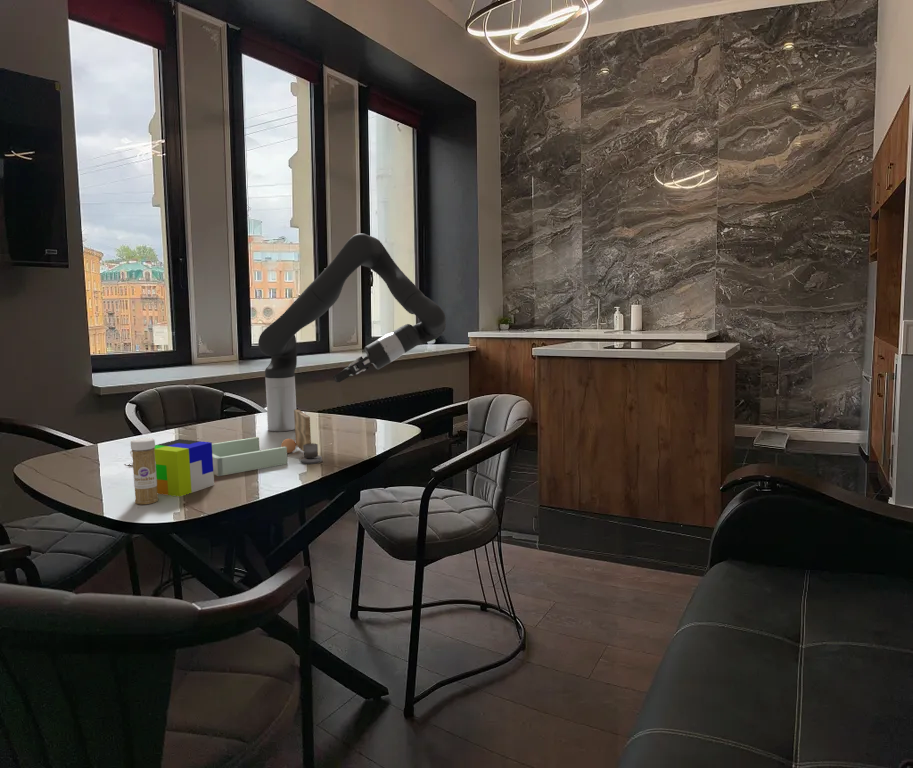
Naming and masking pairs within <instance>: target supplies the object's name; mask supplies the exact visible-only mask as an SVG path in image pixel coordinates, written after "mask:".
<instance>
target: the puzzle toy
mask: <svg viewBox="0 0 913 768" xmlns="http://www.w3.org/2000/svg"><path fill="white" fill-rule="evenodd" d="M212 444H213V443H212V442H209V441H202V440H201V441H200V440H192V439H182V438H181V439H175V440H170V441H166V442H163V443H159V444H155V450H154V451H155V462H156V475H157V493H158V494H157V495H165V496H170V495H171V496H173V497H177V496H179V497H180V496H181V497H183V495H184V496H186V494H187V495H189V493H190V494H192V493H196V492H198V491H201V490H203V489H207V488H209V487H212V486H215V474H214V473H213V456H212ZM179 497H178V498H179Z"/></svg>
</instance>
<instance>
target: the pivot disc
mask: <svg viewBox="0 0 913 768" xmlns="http://www.w3.org/2000/svg"><path fill="white" fill-rule="evenodd" d="M322 462H323V456H322V455H318V456H317V457H314V458H305V457H304V455H303V456H300V458H299V464H302V465H314V464H321V463H322Z"/></svg>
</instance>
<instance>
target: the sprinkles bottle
mask: <svg viewBox="0 0 913 768" xmlns="http://www.w3.org/2000/svg"><path fill="white" fill-rule="evenodd" d="M155 445H156V440H155V439H154V437H140V438H134V439H132V440H130V449H131V450H132V456H133V458H132V460H133V462H132V465H133V466H132V470H133V486H134V499H135V501H134V503H135V504H136V505H142V506H143V505H151V504H155V503H156V502H158V501H159V497H158V495H159V494H157V475H156V462H155V451H154V450H155ZM131 450H130V451H131ZM132 456H131V457H132Z"/></svg>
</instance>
